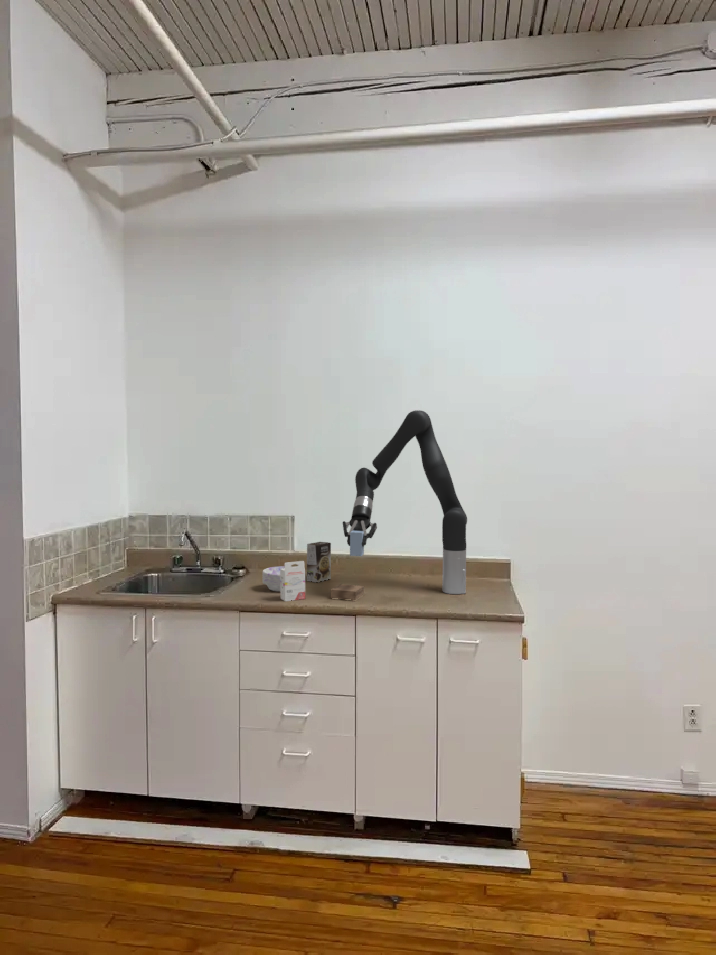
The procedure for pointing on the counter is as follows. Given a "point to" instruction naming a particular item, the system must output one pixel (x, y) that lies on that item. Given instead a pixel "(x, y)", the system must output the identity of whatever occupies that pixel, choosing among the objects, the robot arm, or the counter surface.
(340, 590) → the walnut block
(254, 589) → the counter surface
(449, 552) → the robot arm
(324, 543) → the coffee box
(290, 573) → the ink cartridge box
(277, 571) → the paper bowls
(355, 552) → the slate block
